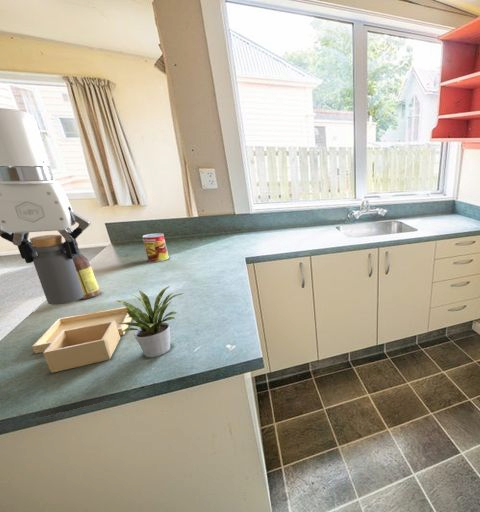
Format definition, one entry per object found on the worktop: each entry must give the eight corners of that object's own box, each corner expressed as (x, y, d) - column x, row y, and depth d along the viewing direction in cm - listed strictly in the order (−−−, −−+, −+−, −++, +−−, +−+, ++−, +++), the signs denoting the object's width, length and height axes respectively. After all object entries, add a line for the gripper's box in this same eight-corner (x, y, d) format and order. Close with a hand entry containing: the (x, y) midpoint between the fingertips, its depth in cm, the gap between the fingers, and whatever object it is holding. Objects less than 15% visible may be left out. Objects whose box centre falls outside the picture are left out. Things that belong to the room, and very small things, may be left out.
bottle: (41, 302, 67) (18, 238, 62) (74, 292, 72) (55, 232, 68) (57, 307, 65) (35, 241, 61) (90, 296, 70) (71, 235, 66)
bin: (51, 373, 67) (42, 352, 65) (68, 348, 75) (62, 330, 74) (110, 359, 72) (103, 340, 70) (120, 338, 80) (115, 320, 78)
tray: (35, 353, 73) (32, 346, 73) (60, 325, 86) (58, 318, 85) (123, 335, 81) (121, 328, 81) (135, 311, 94) (133, 305, 93)
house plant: (198, 328, 85) (186, 275, 80) (195, 355, 73) (181, 295, 68) (135, 341, 79) (119, 285, 73) (121, 373, 67) (100, 309, 62)
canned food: (144, 261, 139) (138, 236, 136) (160, 256, 146) (155, 232, 143) (156, 262, 137) (150, 237, 133) (172, 257, 144) (167, 234, 141)
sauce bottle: (101, 290, 108) (84, 238, 102) (100, 296, 103) (82, 242, 97) (76, 295, 104) (57, 241, 98) (74, 301, 99) (54, 245, 93)
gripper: (-55, 176, 53) (-16, 270, 58) (76, 176, 61) (99, 259, 67) (-27, 174, 59) (5, 259, 65) (88, 174, 67) (108, 250, 73)
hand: (53, 258), depth 66 cm, fingers closed on bottle, 5 cm apart
